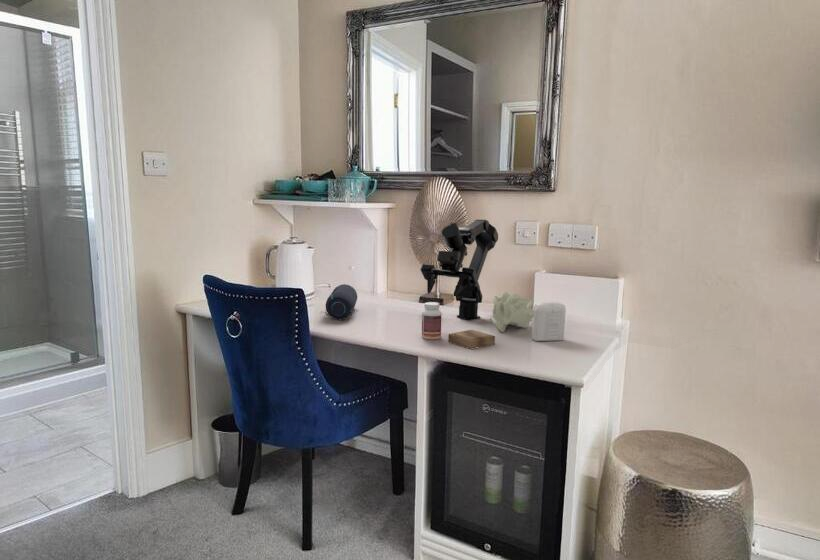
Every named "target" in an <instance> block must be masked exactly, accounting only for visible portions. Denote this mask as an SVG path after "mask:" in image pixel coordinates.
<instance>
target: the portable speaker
mask: <svg viewBox="0 0 820 560" xmlns="http://www.w3.org/2000/svg"><path fill="white" fill-rule="evenodd" d="M357 301H358V293H357V291H356V289H355V287H353V286H351V285H349V284H345V283H344V284H339V285H337V286H336V287H335V288H334V289H333V291H332V292H331V293H330V294H329V296H328V297H327V299H326V301H325V310H326V313H327V314H328V316H329V317H331V318H332V319H335V320H337V321H340V320H341V321H342V320H343V321H344V320H345V319H348V318H349V317H350V316H351V315H352V313H353V312H354V310H355V306H356V304H357Z"/></svg>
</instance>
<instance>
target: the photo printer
mask: <svg viewBox="0 0 820 560" xmlns="http://www.w3.org/2000/svg"><path fill="white" fill-rule="evenodd" d="M533 310H534V313H533V318H532V328H531V329H532V330H531V339H532V340H533V341H535V342H541V341H542V342H544V341H546V342H548V341H549V342H550V341H564V337H565V323H566V305H565V304H563V303H562V302H558V301H548V300H547V301H543V302H539V303H536V304H535V305H534V307H533Z"/></svg>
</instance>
